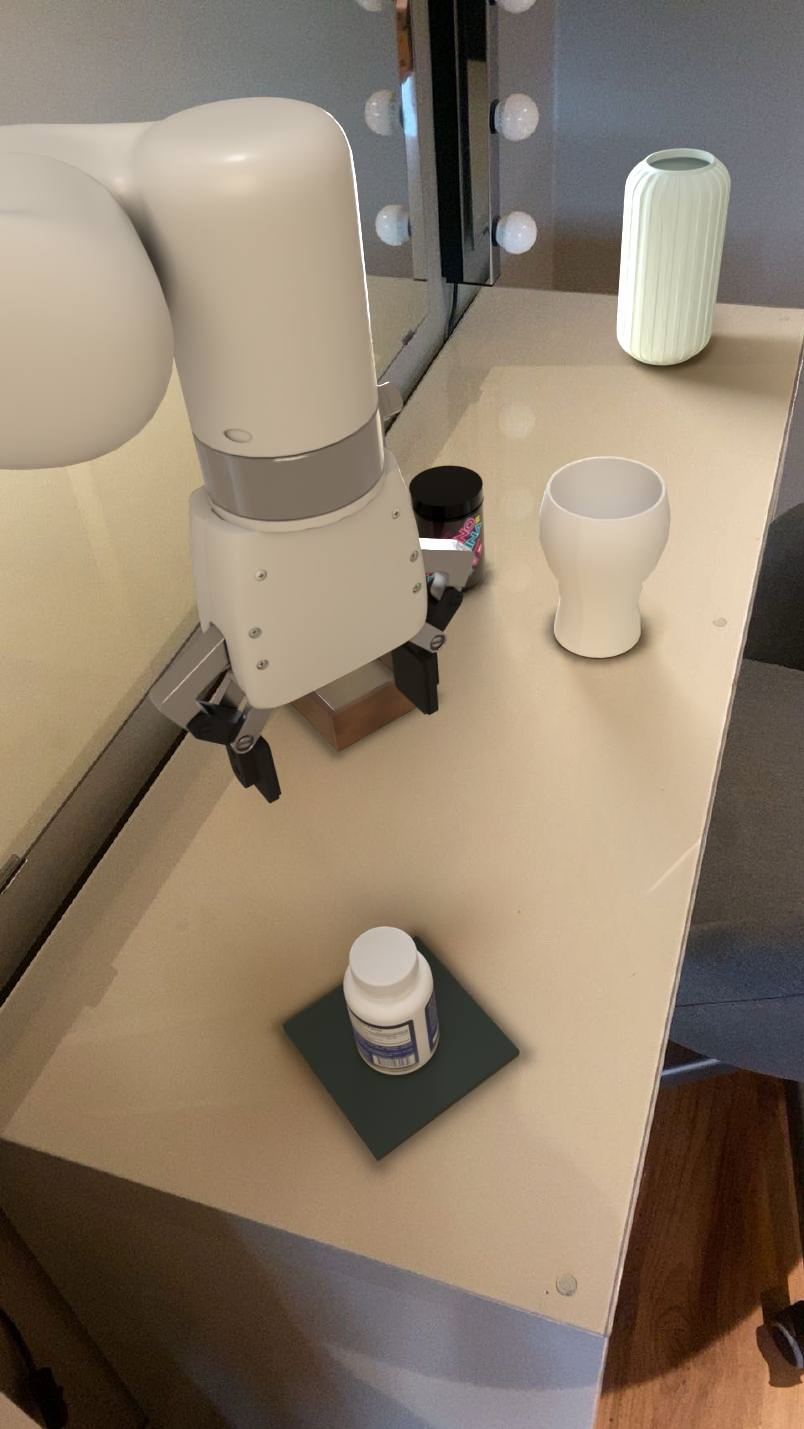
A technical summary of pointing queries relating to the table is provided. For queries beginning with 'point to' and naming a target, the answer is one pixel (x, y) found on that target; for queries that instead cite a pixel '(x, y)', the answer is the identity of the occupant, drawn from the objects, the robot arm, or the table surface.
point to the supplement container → (451, 512)
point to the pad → (407, 1100)
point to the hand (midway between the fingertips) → (341, 740)
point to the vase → (671, 254)
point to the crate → (355, 711)
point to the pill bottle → (391, 1001)
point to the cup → (602, 549)
